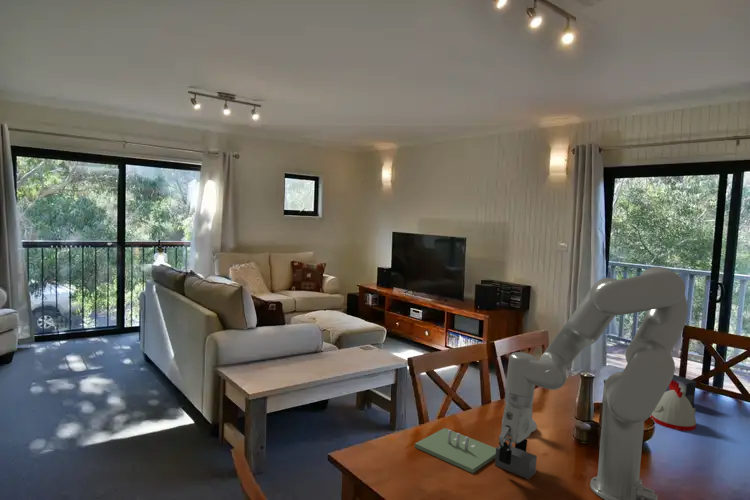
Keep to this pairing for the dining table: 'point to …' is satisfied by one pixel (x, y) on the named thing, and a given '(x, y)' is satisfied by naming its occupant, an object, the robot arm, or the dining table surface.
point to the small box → (685, 387)
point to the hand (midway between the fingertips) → (512, 456)
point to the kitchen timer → (675, 410)
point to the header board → (457, 449)
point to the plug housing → (518, 462)
